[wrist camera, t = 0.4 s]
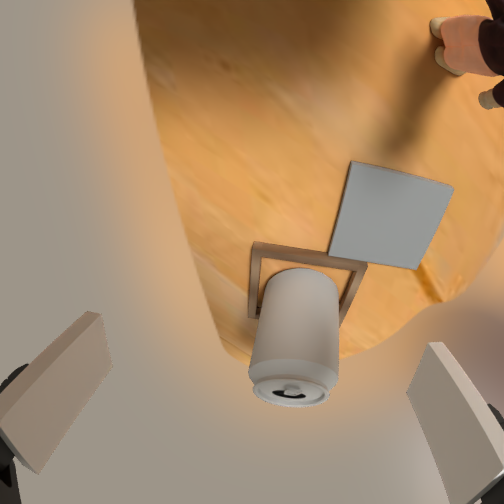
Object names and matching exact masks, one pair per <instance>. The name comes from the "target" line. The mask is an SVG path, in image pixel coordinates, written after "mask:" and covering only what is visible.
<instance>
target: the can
mask: <svg viewBox="0 0 504 504" xmlns="http://www.w3.org/2000/svg"><path fill="white" fill-rule="evenodd" d="M338 367H339V293H338V289H337V286H336V284H335V283H334V282H333V281H332V279H331V278H329V277H328V276H326V275H325V274H323V273H321V272H318V271H315V270H312V269H309V268H295V269H289V270H285V271H283V272H280V273H278V274H276V275H275V276H273V277H272V278H271V279H270V280H269V281H268V283H267V286H266V288H265V293H264V298H263V303H262V308H261V313H260V318H259V323H258V328H257V332H256V337H255V342H254V347H253V352H252V357H251V361H250V366H249V371H248V373H249V377H250V379H251V380H252V382H253V383H254V387H253V392H254V394H255V395H256V396H257V397H258V398H260V399H262V400H263V401H265V402H269V403H271V404H275V405H280V406H285V407H309V406H315V405H318V404H322V403H323V402H324V401H326V400H328V398H329V396H330V394H329V390H331V389H332V388H333V387H334V386H335V385H336V383H337V381H338V371H339V368H338Z"/></svg>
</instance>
